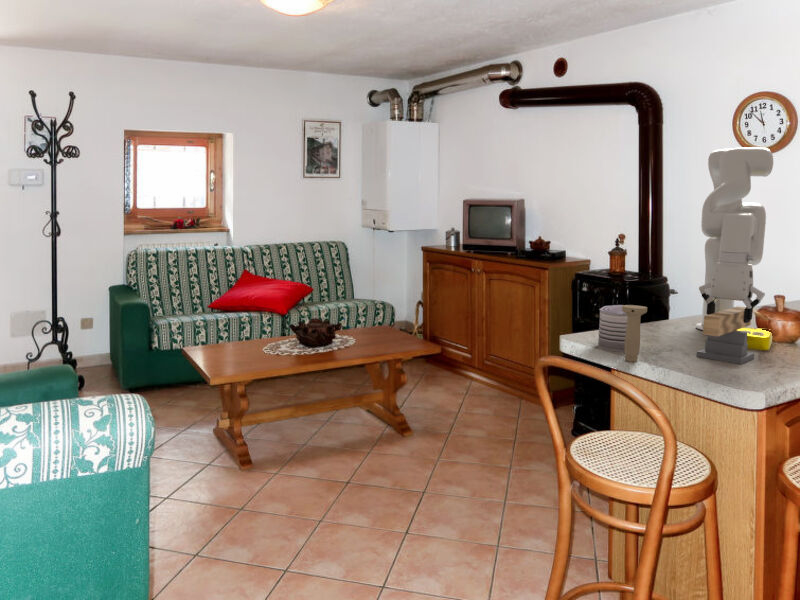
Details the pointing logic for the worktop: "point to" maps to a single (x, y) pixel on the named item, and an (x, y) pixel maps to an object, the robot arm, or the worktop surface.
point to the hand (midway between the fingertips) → (728, 319)
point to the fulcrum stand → (727, 348)
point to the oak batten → (724, 321)
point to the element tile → (758, 338)
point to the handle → (633, 331)
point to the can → (612, 328)
